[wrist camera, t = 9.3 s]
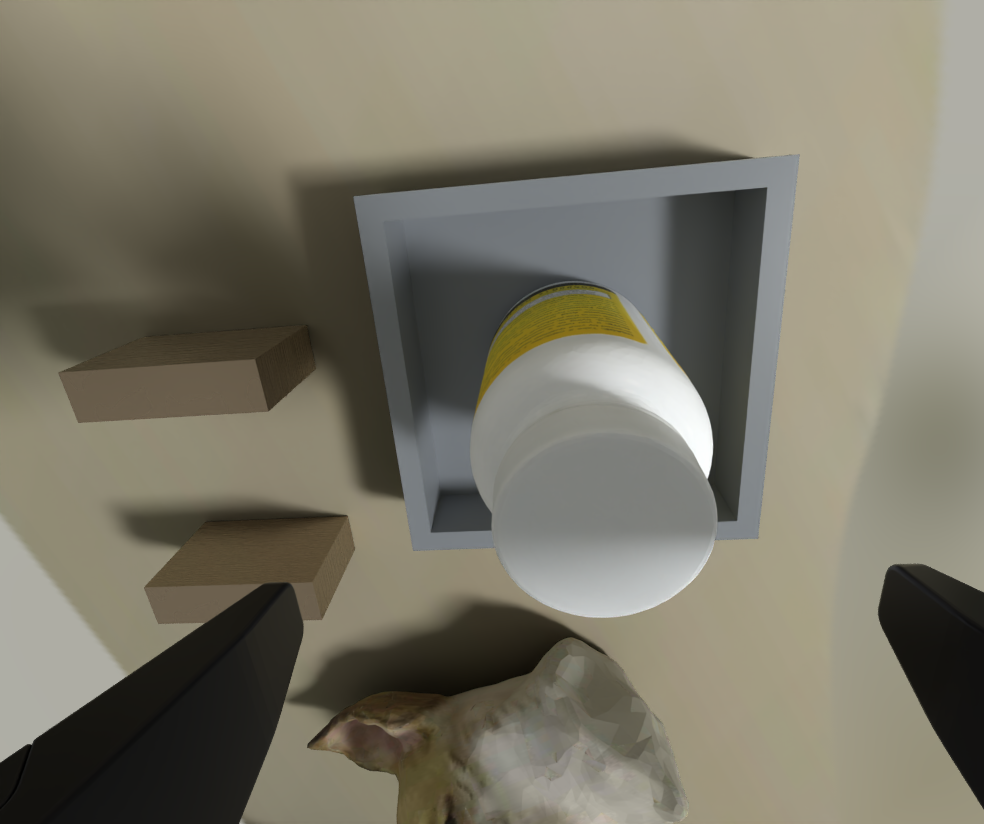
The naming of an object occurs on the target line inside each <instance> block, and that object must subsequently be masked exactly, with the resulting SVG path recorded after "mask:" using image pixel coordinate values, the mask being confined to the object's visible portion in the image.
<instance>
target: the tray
mask: <svg viewBox="0 0 984 824" xmlns="http://www.w3.org/2000/svg"><path fill="white" fill-rule="evenodd" d="M799 155H800V154H798V155H786V156H774V157H762V158H750V159H740V160H729V161H718V162H708V163H697V164H686V165H676V166H665V167H655V168H644V169H633V170H623V171H612V172H601V173H591V174H580V175H570V176H559V177H548V178H538V179H527V180H516V181H506V182H495V183H485V184H474V185H463V186H453V187H442V188H431V189H421V190H410V191H400V192H389V193H379V194H370V195H361V196H353V197H354V203H355V209H356V215H357V221H358V227H359V233H360V239H361V245H362V251H363V257H364V263H365V268H366V274H367V280H368V286H369V292H370V298H371V304H372V310H373V316H374V322H375V328H376V334H377V340H378V345H379V351H380V357H381V363H382V369H383V375H384V381H385V387H386V393H387V399H388V405H389V411H390V417H391V422H392V428H393V434H394V440H395V446H396V452H397V458H398V464H399V470H400V476H401V482H402V488H403V494H404V499H405V505H406V511H407V517H408V523H409V529H410V535H411V541H412V547H413V551H421V550H450V549H478V548H495V547H494V542H493V537H492V528H491V523H492V513H491V511H490V510H489V509H488V507H487V506H486V504H485V502H484V501H483V499H482V497H481V495H480V493H479V491H478V488H477V485H476V483H475V480H474V476H473V473H472V467H471V460H470V441H471V430H472V424H473V419H474V415H475V410H476V406H477V401H478V397H479V392H480V388H481V384H482V380H483V375H484V371H485V366H486V362H487V357H488V353H489V349H490V345H491V342H492V339H493V337H494V335H495V333H496V331H497V329H498V327H499V325H500V323H501V321H502V320H503V318H504V317H505V315H506V314H507V313H508V311H509V310H510V309H511V308H512V307H513V306H514V305H515V304H516V303H517V302H519V301H520V300H521V299H522V298H523V297H525V296H526V295H528V294H529V293H531V292H533V291H535V290H537V289H539V288H542V287H544V286H547V285H550V284H554V283H558V282H565V281H583V282H590V283H595V284H599V285H602V286H605V287H607V288H609V289H612V290H614V291H615V292H617V293H619V294H620V295H622V296H623V297H625V298H626V299H627V300H628V301H629V302H631V303H632V304H633V305H634V307H635V308H636V309H637V310H638V311H639V312H640V313H641V314H642V315H643V317H644V318H645V319H646V321H647V322H648V324H649V325H650V326H651V328H652V329H653V330H654V332H655V333H656V335H657V336H658V338H659V339H660V340H661V341H662V343H663V344H664V345H665V346H666V348H667V349H668V351H669V352H670V354H671V355H672V356H673V358H674V359H675V360H676V361H677V363H678V364H679V365H680V367H681V368H682V369H683V370H684V372H685V374H686V375H687V376H688V378H689V380H690V381H691V383H692V384H693V386H694V387H695V389H696V391H697V392H698V394H699V396H700V397H701V399H702V401H703V404H704V406H705V408H706V411H707V414H708V417H709V420H710V424H711V430H712V438H713V455H712V463H711V468H710V472H709V476H708V482H709V484H710V486H711V489H712V491H713V494H714V498H715V501H716V507H717V524H718V526H717V532H716V537H715V540H732V539H758V533H759V524H760V515H761V506H762V496H763V487H764V478H765V469H766V459H767V450H768V441H769V432H770V423H771V413H772V404H773V395H774V386H775V377H776V367H777V358H778V349H779V340H780V330H781V321H782V312H783V303H784V294H785V284H786V275H787V266H788V257H789V248H790V238H791V229H792V220H793V211H794V201H795V192H796V183H797V174H798V165H799Z"/></svg>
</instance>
